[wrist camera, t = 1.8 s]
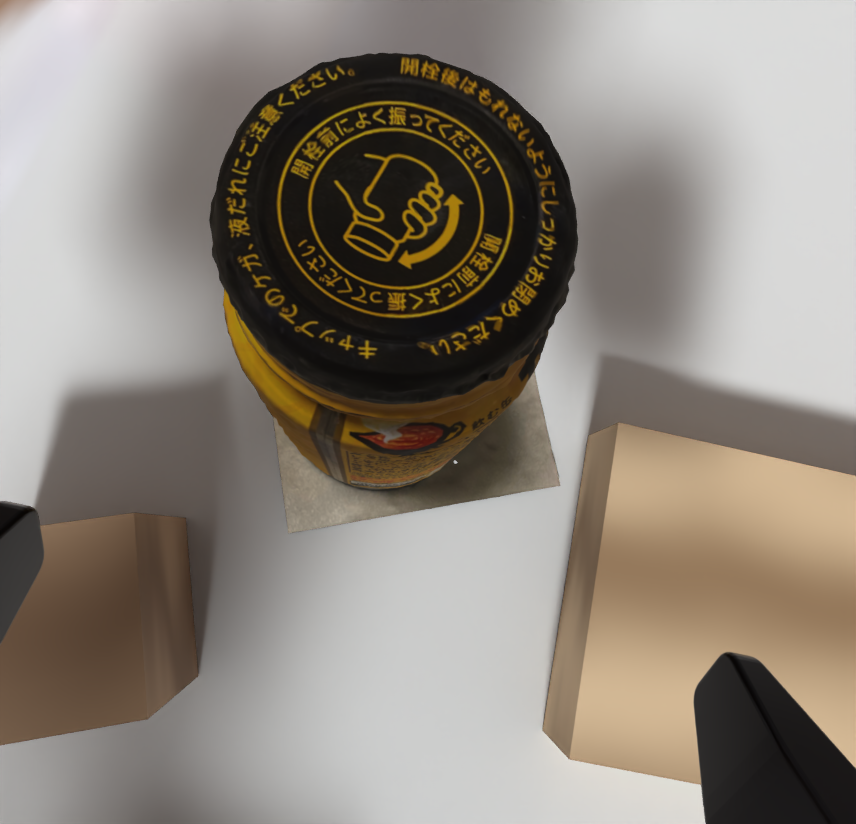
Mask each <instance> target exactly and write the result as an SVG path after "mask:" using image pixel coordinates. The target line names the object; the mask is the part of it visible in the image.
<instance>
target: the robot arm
mask: <svg viewBox="0 0 856 824" xmlns="http://www.w3.org/2000/svg"><path fill="white" fill-rule="evenodd" d="M43 560H44V546H43V540H42V534H41V528H40V522H39V516H38V513H37V511H36V510H35V509H34V508H33V507H31V506H27V505H22V504H17V503H12V502H7V501H0V644H1V642H2V641H3V639H4V637H5V635H6V633H7V631H8V629H9V627H10V626H11V624H12V622H13V620H14V618H15V616H16V614H17V612H18V611H19V609H20V607H21V605H22V603H23V601H24V599H25V598H26V596H27V594H28V592H29V590H30V588H31V586H32V584H33V583H34V581H35V579H36V577H37V575H38V573H39V571H40V569H41V567H42V564H43ZM693 702H694V715H695V725H696V735H697V746H698V756H699V766H700V777H701V787H702V797H703V806H704V814H705V822H706V824H856V768H855V767H854V766H853V765H852V764H851V762H850V761H849V760H848V759H847V758H846V757H845V756H844V755H843V753H842V752H841V751H840V750H839V749H838V748H837V747H836V746H835V744H834V743H833V742H832V741H831V740H830V739H829V738H828V737H827V735H826V734H825V733H824V732H823V731H822V730H821V729H820V727H819V726H818V725H817V724H816V723H815V722H814V721H813V720H812V718H811V717H810V716H809V715H808V714H807V713H806V712H805V711H804V709H803V708H802V707H801V706H800V705H799V704H798V703H797V702H796V700H795V699H794V698H793V697H792V696H791V695H790V694H789V693H788V691H787V690H786V689H785V688H784V687H783V686H782V685H781V684H780V682H779V681H778V680H777V679H776V678H775V677H774V676H773V675H772V673H771V672H770V671H769V670H768V669H767V668H766V667H765V666H764V664H762V663H761V662H760V661H759V660H758V659H756V658H754V657H752V656H748V655H743V654H738V653H733V652H725V653H723V654H721V655H720V656H719V657H718V658H717V660H716V661H715V662H714V664H713V665H712V666H711V667H710V669H709V670H708V671H707V673H706V674H705V675H704V676H703V678H702V679H701V680H700V682H699V683H698V685H697V687H696V689H695V692H694V700H693Z"/></svg>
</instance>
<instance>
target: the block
mask: <svg viewBox="0 0 856 824" xmlns="http://www.w3.org/2000/svg"><path fill="white" fill-rule="evenodd" d="M40 528H41V534H42V540H43V546H44V560H43V564H42V567H41V569H40V571H39V573H38V575H37V577H36V579H35V581H34V583H33V584H32V586H31V588H30V590H29V592H28V594H27V596H26V598H25V599H24V601H23V603H22V605H21V607H20V609H19V611H18V612H17V614H16V616H15V618H14V620H13V622H12V624H11V626H10V627H9V629H8V631H7V633H6V635H5V637H4V639H3V641H2V642H1V644H0V745H5V744H10V743H16V742H22V741H27V740H33V739H39V738H44V737H50V736H55V735H61V734H67V733H72V732H78V731H84V730H89V729H95V728H101V727H106V726H112V725H118V724H123V723H129V722H134V721H140V720H146V719H148V718H150V717H151V716H152V715H153V714H154V713H156V712H157V711H158V710H159V709H160V708H161V707H163V706H164V705H165V704H166V703H167V702H168V701H170V700H171V699H172V698H173V697H174V696H175V695H177V694H178V693H179V692H180V691H181V690H183V689H184V688H185V687H186V686H187V685H188V684H190V683H191V682H192V681H193V680H194V679H195V678H197V677H198V665H197V652H196V640H195V627H194V615H193V603H192V590H191V578H190V565H189V553H188V540H187V528H186V518H182V517H172V516H162V515H152V514H142V513H128V514H121V515H113V516H106V517H99V518H92V519H85V520H77V521H70V522H63V523H56V524H49V525H41V526H40Z"/></svg>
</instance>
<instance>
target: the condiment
mask: <svg viewBox="0 0 856 824" xmlns="http://www.w3.org/2000/svg"><path fill="white" fill-rule="evenodd" d="M209 220H210V227H211V231H212V239H213V248H212V256H213V258H214V260H215V262H216V264H217V268H218V271H219V279H220V281H221V283H222V285H223V287H224V302H223V306H224V309H225V320H226V323H227V327H228V333H229V335H230V337H231V340H232V344H233V347H234V350H235V353H236V355H237V357H238V360H239V362H240V365H241V368H242V370H243V371H244V373H245V374H246V376H247V377H248V379H249V380H250V381H251V383H252V384H253V386H254V387H255V389H256V390H257V392H258V394H259V397H260V399H261V400H262V401H263V402H264V403H265V404H266V407H267V409H268V410H269V412H270V413H271V415H272V416H273V421H274V429H275V436H276V443H277V451H278V458H279V466H280V476H281V480H282V489H283V497H284V505H285V512H286V519H287V526H288V533H294V532H299V531H305V530H311V529H316V528H322V527H328V526H333V525H339V524H345V523H351V522H356V521H361V520H368V519H373V518H379V517H385V516H391V515H396V514H402V513H408V512H413V511H419V510H424V509H432V508H436V507H441V506H447V505H452V504H457V503H464V502H470V501H475V500H482V499H487V498H492V497H500V496H504V495H509V494H515V493H520V492H525V491H532V490H538V489H543V488H549V487H555V486H560V482H559V478H558V474H557V469H556V464H555V461H554V458H553V454H552V450H551V445H550V440H549V436H548V432H547V428H546V422H545V418H544V414H543V409H542V405H541V401H540V397H539V392H538V387H537V382H536V377H535V372H534V371H535V368H536V366H537V364H538V362H539V360H540V356H541V353H542V351H543V348H544V345H545V341H546V339H547V336H548V330H549V329H550V327H551V326H552V325H553V323H554V320H555V316H556V314H557V313H558V312H559V310H560V309H561V308H562V306H563V305H564V304H565V302H566V297H567V294H568V292H569V287H568V282H569V280H570V278H571V276H572V275H573V273H574V271H575V268H574V261H575V257H576V253H577V246H578V236H577V219H576V208H575V204H574V200H573V197H572V193H571V188H570V180H569V177H568V174H567V172H566V170H565V167H564V165H563V162H562V160H561V158H560V156H559V153H558V152H557V150H556V149H555V147H554V146H553V143H552V141H551V139H550V136H549V135H548V133H547V132H546V131H545V130H544V128H543V126H542V125H541V123H540V122H538V121H537V120H536V119H535V118H534V117H533V116H532V115H531V114H529V113H528V112H527V111H526V110H525V109H524V108H523V107H522V106H521V105H520V104H519V103H518V102H517V101H516V100H515V99H514V98H512V97H511V96H510V95H509V94H508V93H507V92H506V91H504V90H503V89H502V88H500V87H498V86H497V85H495V84H494V83H492V82H491V81H489V80H487V79H485V78H483V77H480V76H477V75H474V74H473V73H471V72H470V71H467V70H464V69H461V68H458V67H455V66H452V65H449V64H446V63H443V62H440V61H437V60H434V59H432V58H430V57H429V56H426V55H421V54H412V55H408V54H398V53H393V54H388V53H378V54H365V55H361V56H356V57H349V58H340V59H337V60H334V61H331V62H322V63H319V64H318V65H316V66H314V67H313V68H311V69H310V70H308V71H307V72H306V73H304V74H303V75H301V76H299V77H298V78H296V79H294V80H292V81H291V82H289V83H287V84H285V85H283V86H281V87H279V88H277V89H274V90H272V91H270V92H268V93H267V94H266V95H265V96H264V97H263V98H262V99H261V100H260V101H259V102H258V103H257V104H256V105H255V106H254V107H253V109H252V110H251V111H250V112H249V114H248V115H247V117H246V118H245V119H244V121H243V122H242V124H241V125H240V127H239V128H238V130H237V131H236V134H235V137H234V139H233V142H232V144H231V145H230V147H229V149H228V151H227V153H226V155H225V158H224V160H223V163H222V165H221V168H220V173H219V177H218V181H217V189H216V192H215V195H214V197H213V200H212V202H211V213H210V219H209ZM454 460H456V461H457V462H458V463H457V464H454V462H453V461H454Z"/></svg>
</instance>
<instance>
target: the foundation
mask: <svg viewBox="0 0 856 824" xmlns="http://www.w3.org/2000/svg"><path fill="white" fill-rule="evenodd" d="M725 652H733V653H738V654H743V655H748V656H752V657H754V658H756V659H758V660H759V661H760V662H761V663H762V664H764V666H765V667H766V668H767V669H768V670H769V671H770V672H771V673H772V675H773V676H774V677H775V678H776V679H777V680H778V681H779V682H780V684H781V685H782V686H783V687H784V688H785V689H786V690H787V691H788V693H789V694H790V695H791V696H792V697H793V698H794V699H795V700H796V702H797V703H798V704H799V705H800V706H801V707H802V708H803V709H804V711H805V712H806V713H807V714H808V715H809V716H810V717H811V718H812V720H813V721H814V722H815V723H816V724H817V725H818V726H819V727H820V729H821V730H822V731H823V732H824V733H825V734H826V735H827V737H828V738H829V739H830V740H831V741H832V742H833V743H834V744H835V746H836V747H837V748H838V749H839V750H840V751H841V752H842V753H843V755H844V756H845V757H846V758H847V759H848V760H849V761H850V762H851V764H852V765H853V766H854V767H855V768H856V476H854V475H850V474H845V473H841V472H836V471H832V470H827V469H823V468H819V467H814V466H810V465H805V464H801V463H796V462H792V461H787V460H783V459H779V458H774V457H770V456H765V455H761V454H756V453H752V452H748V451H743V450H739V449H734V448H730V447H725V446H721V445H716V444H712V443H708V442H703V441H699V440H694V439H690V438H685V437H681V436H677V435H672V434H668V433H663V432H659V431H654V430H650V429H645V428H641V427H637V426H632V425H628V424H623V423H619V422H618V423H616V424H614V425H611V426H609V427H607V428H605V429H602V430H600V431H598V432H596V433H593V434H591V435H589V436H588V442H587V448H586V454H585V461H584V467H583V474H582V480H581V487H580V493H579V499H578V506H577V512H576V519H575V525H574V532H573V538H572V544H571V551H570V557H569V564H568V570H567V577H566V583H565V590H564V596H563V602H562V609H561V615H560V622H559V628H558V635H557V641H556V647H555V654H554V660H553V667H552V673H551V680H550V686H549V693H548V699H547V705H546V712H545V718H544V725H543V731H544V733H545V734H546V735H547V736H548V737H549V738H550V739H551V740H552V741H553V742H554V743H555V744H556V746H557V747H558V748H559V749H560V750H561V751H562V752H563V753H564V754H565V755H566V756H567V757H568V759H570V760H575V761H580V762H586V763H591V764H596V765H601V766H606V767H612V768H617V769H622V770H627V771H632V772H638V773H643V774H648V775H653V776H658V777H663V778H669V779H674V780H679V781H684V782H689V783H695V784H700V785H701V777H700V766H699V756H698V746H697V735H696V725H695V715H694V702H693V700H694V692H695V689H696V687H697V685H698V683H699V682H700V680H701V679H702V678H703V676H704V675H705V674H706V673H707V671H708V670H709V669H710V667H711V666H712V665H713V664H714V662H715V661H716V660H717V658H718V657H719V656H720V655H721V654H723V653H725Z"/></svg>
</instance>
